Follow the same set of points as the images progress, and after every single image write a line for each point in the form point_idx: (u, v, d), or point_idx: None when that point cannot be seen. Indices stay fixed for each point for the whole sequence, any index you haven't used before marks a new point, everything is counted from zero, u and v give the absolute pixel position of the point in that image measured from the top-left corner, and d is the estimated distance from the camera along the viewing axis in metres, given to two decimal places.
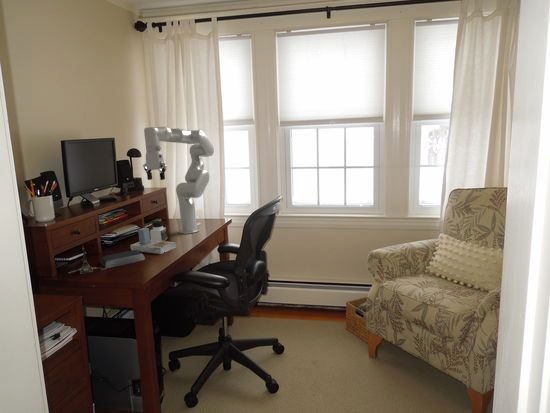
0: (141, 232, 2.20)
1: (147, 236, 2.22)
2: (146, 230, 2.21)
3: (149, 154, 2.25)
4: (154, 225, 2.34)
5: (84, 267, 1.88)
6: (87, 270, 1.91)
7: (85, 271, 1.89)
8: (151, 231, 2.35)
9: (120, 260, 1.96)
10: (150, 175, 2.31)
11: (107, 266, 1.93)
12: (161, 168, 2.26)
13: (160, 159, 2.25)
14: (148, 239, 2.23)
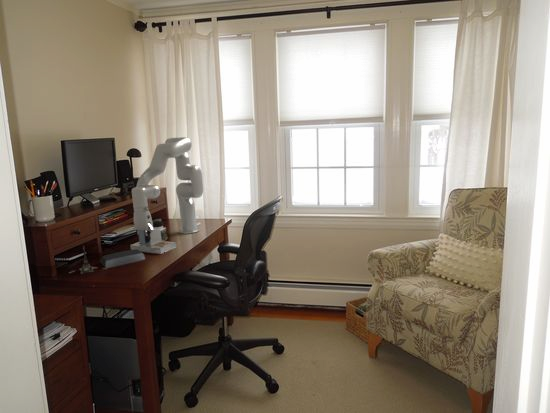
0: (141, 232, 2.20)
1: None
2: None
3: (137, 215, 2.19)
4: (154, 225, 2.34)
5: (84, 267, 1.88)
6: (87, 270, 1.91)
7: (85, 271, 1.89)
8: None
9: (120, 259, 1.96)
10: None
11: (107, 265, 1.93)
12: (147, 230, 2.21)
13: (148, 220, 2.19)
14: None
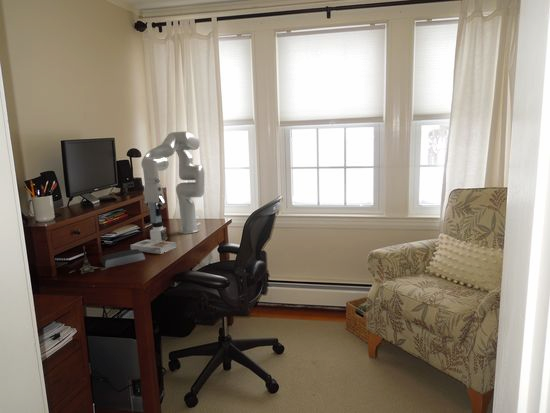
0: (151, 205, 2.13)
1: None
2: None
3: (147, 187, 2.11)
4: (154, 225, 2.34)
5: (85, 267, 1.88)
6: (88, 270, 1.91)
7: (86, 271, 1.90)
8: (151, 231, 2.35)
9: (120, 259, 1.96)
10: None
11: (107, 265, 1.93)
12: (158, 203, 2.13)
13: (159, 192, 2.11)
14: None
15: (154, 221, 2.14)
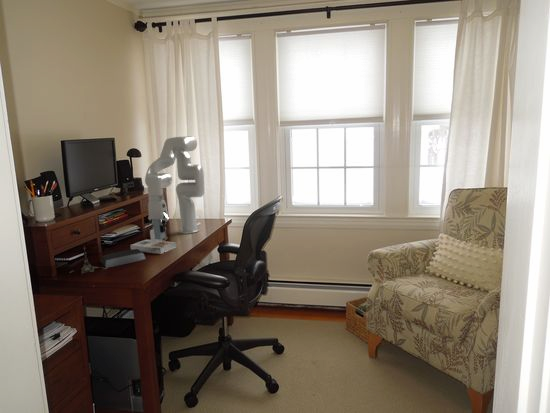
0: (156, 221, 2.13)
1: None
2: None
3: (152, 203, 2.12)
4: None
5: (85, 267, 1.88)
6: (88, 270, 1.91)
7: (86, 271, 1.90)
8: (151, 231, 2.35)
9: (120, 259, 1.96)
10: None
11: (107, 265, 1.93)
12: (163, 219, 2.14)
13: (164, 209, 2.12)
14: None
15: (158, 237, 2.15)
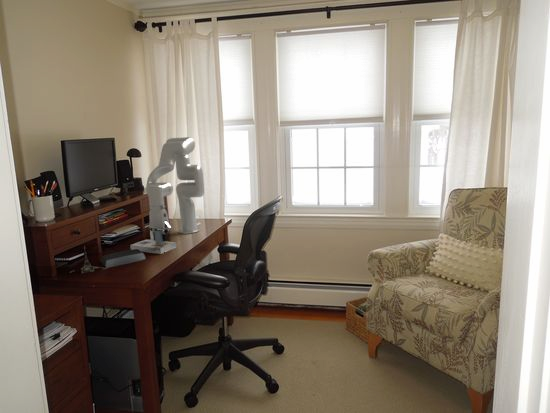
0: (157, 233, 2.15)
1: None
2: None
3: (153, 213, 2.13)
4: None
5: (85, 267, 1.88)
6: (88, 269, 1.91)
7: (86, 270, 1.90)
8: (151, 231, 2.35)
9: (120, 259, 1.96)
10: None
11: (107, 265, 1.93)
12: (164, 228, 2.15)
13: (165, 218, 2.13)
14: (164, 241, 2.17)
15: None
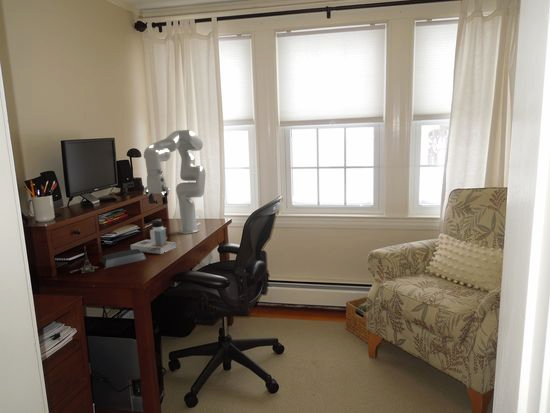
0: (157, 233, 2.15)
1: (163, 238, 2.17)
2: (162, 231, 2.16)
3: (150, 178, 2.14)
4: (154, 225, 2.34)
5: (85, 266, 1.89)
6: (89, 269, 1.91)
7: (87, 270, 1.90)
8: (151, 231, 2.35)
9: (120, 259, 1.96)
10: (152, 199, 2.21)
11: (107, 265, 1.94)
12: (163, 192, 2.16)
13: (162, 183, 2.15)
14: (164, 241, 2.17)
15: None
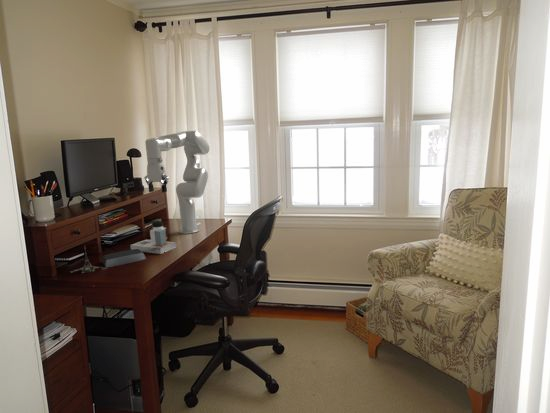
0: (157, 233, 2.15)
1: (163, 238, 2.17)
2: (162, 231, 2.16)
3: (150, 166, 2.21)
4: (154, 225, 2.34)
5: (86, 266, 1.89)
6: (89, 269, 1.92)
7: (87, 270, 1.90)
8: (151, 231, 2.35)
9: (120, 259, 1.96)
10: (151, 187, 2.27)
11: (107, 265, 1.94)
12: (163, 180, 2.22)
13: (162, 171, 2.21)
14: (164, 241, 2.17)
15: None
